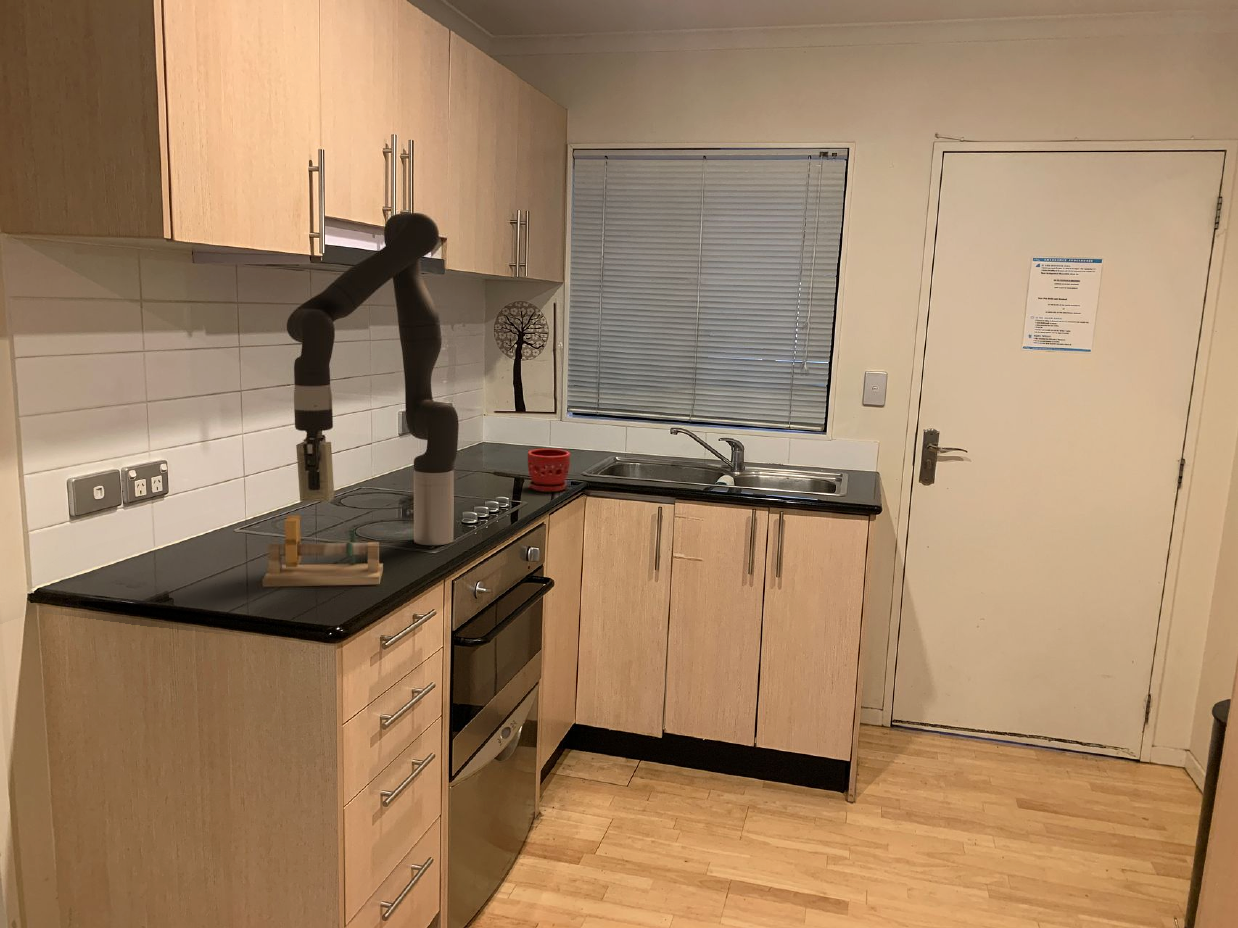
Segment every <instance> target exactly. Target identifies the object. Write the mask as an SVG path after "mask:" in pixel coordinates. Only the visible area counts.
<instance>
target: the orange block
mask: <svg viewBox="0 0 1238 928" xmlns="http://www.w3.org/2000/svg"><path fill="white" fill-rule="evenodd" d="M300 516H301V515H300V514H293V515H292V514H290V515H289V514H288V516H287V518H286V519H285V520H284V531H285V539H284V540H285V541H284V542H285V543H284V544H285V552H286V556H285V565H286V567H297V565H300V562H301V561H302V556H297V544H302V541H301V539H302V538H301V517H300Z"/></svg>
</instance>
